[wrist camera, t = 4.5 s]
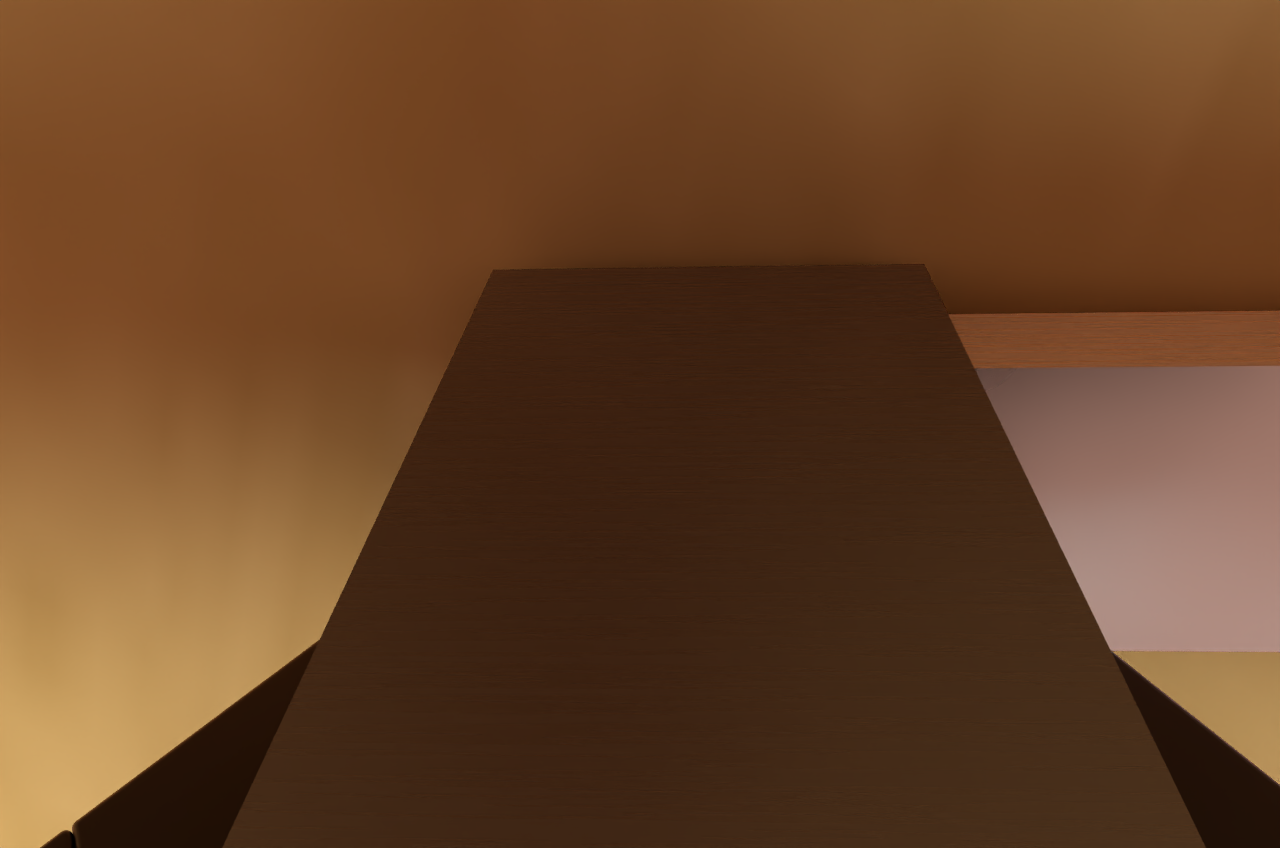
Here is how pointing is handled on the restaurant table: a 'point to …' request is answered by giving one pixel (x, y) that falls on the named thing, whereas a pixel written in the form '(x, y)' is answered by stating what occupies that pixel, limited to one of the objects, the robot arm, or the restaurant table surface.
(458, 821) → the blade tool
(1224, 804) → the robot arm
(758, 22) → the restaurant table surface
